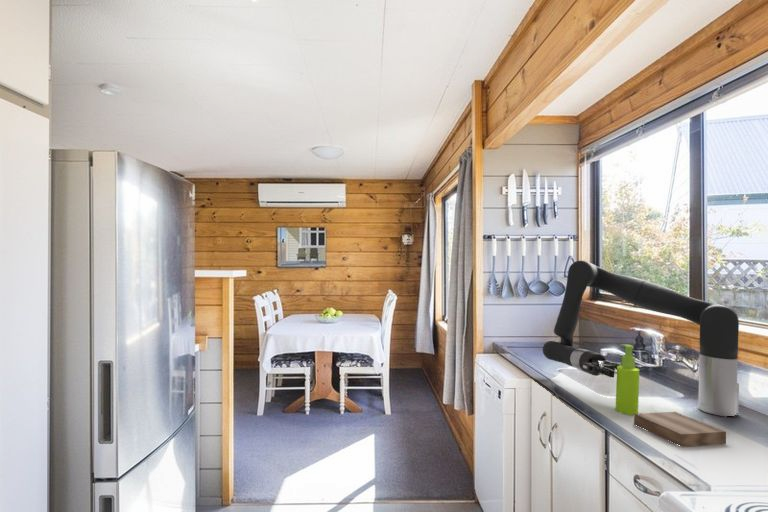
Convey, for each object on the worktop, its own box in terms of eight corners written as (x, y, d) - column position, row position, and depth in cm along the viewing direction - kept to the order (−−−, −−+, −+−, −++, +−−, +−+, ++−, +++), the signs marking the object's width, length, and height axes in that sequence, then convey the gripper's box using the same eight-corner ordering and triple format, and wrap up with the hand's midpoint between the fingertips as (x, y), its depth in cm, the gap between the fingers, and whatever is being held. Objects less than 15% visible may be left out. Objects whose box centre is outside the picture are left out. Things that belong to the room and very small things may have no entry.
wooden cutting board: (674, 422, 117) (675, 411, 117) (725, 443, 104) (726, 431, 104) (633, 424, 114) (634, 413, 114) (681, 446, 100) (681, 434, 100)
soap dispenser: (632, 408, 128) (634, 343, 129) (641, 416, 121) (643, 347, 122) (611, 406, 129) (613, 342, 130) (619, 413, 123) (621, 346, 123)
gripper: (570, 350, 141) (605, 361, 125) (605, 350, 144) (644, 361, 128) (569, 372, 140) (605, 386, 125) (604, 372, 144) (644, 385, 128)
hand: (625, 373), depth 126 cm, fingers open, 8 cm apart
